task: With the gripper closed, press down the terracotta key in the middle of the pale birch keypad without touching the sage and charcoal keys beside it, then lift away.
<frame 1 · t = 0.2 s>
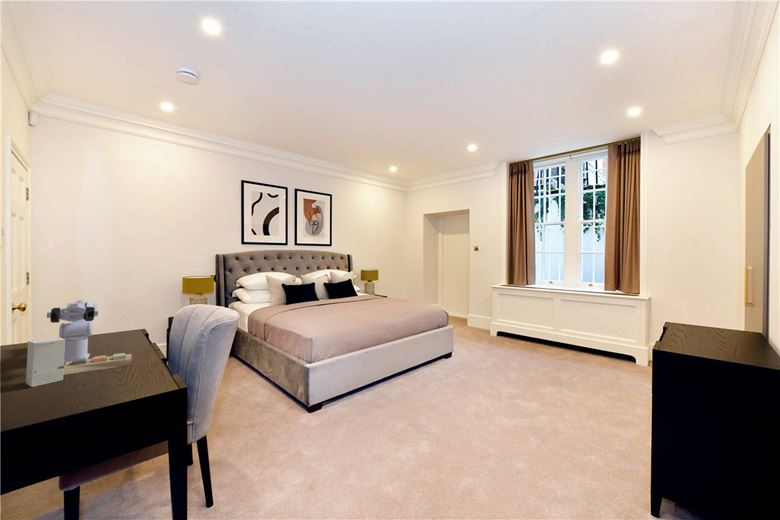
hand: (70, 317, 123), 21 cm above the table, tool horizontal, fingers open, 7 cm apart
key terracotta: (99, 359, 131), point 3 cm above the table, slide at 0.0 cm
key sage: (119, 357, 135), point 3 cm above the table, slide at 0.0 cm
keypad: (99, 366, 131), on the table
skincare box: (45, 382, 115), on the table
key charcoal: (78, 362, 127), point 3 cm above the table, slide at 0.0 cm
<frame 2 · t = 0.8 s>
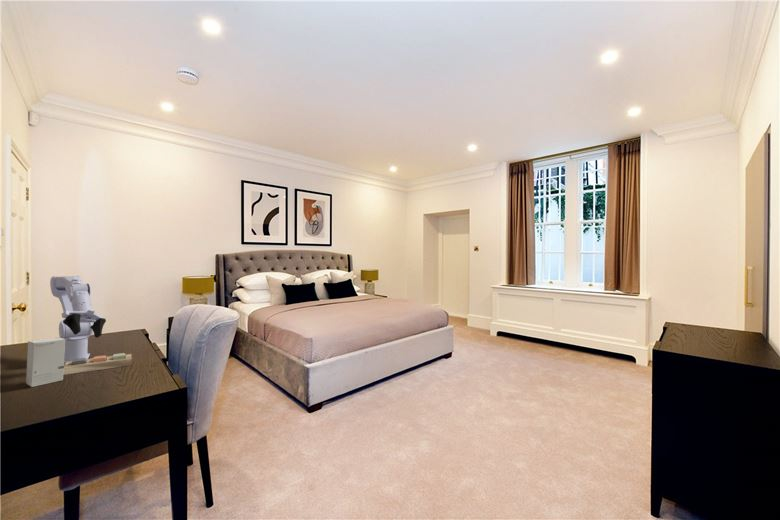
hand: (88, 334, 126), 14 cm above the table, tool tilted 50°, fingers open, 7 cm apart
nothing on the table moved.
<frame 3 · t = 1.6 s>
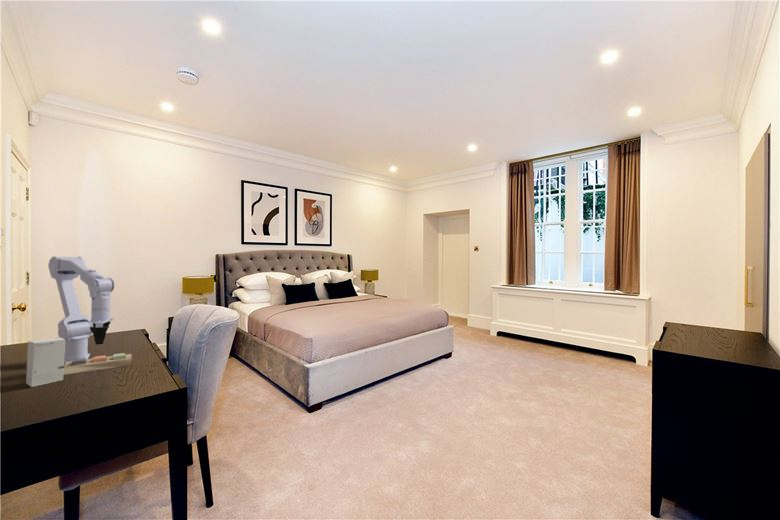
hand: (100, 342, 133), 9 cm above the table, tool pointing down, fingers open, 7 cm apart
nothing on the table moved.
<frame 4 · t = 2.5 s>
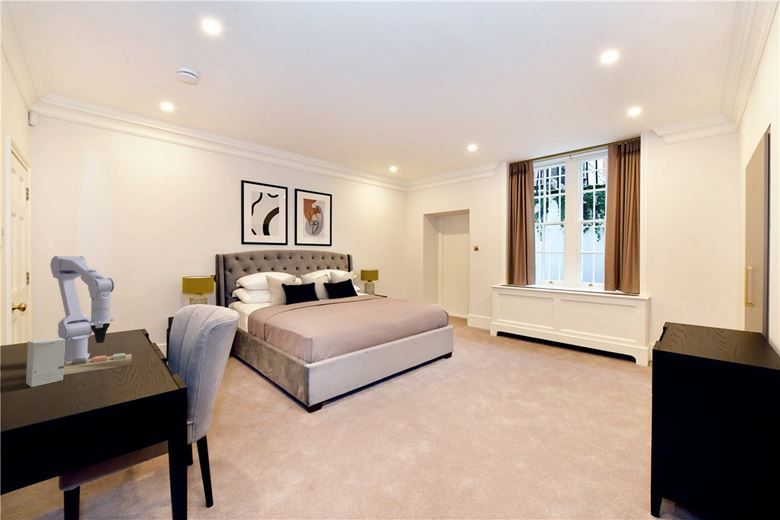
hand: (100, 342, 132), 9 cm above the table, tool pointing down, fingers closed
nothing on the table moved.
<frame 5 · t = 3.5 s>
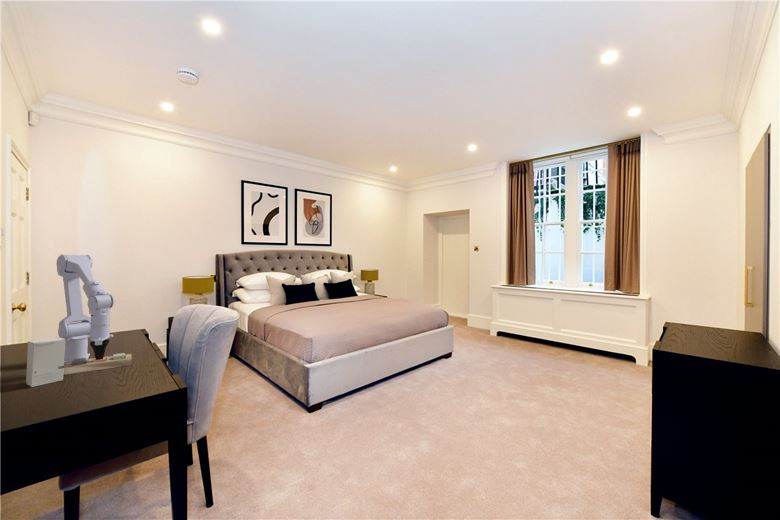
hand: (99, 359, 131), 3 cm above the table, tool pointing down, fingers closed, pressing on key terracotta
key terracotta: (99, 361, 131), point 2 cm above the table, slide at 0.7 cm, touching gripper
everything else where it was.
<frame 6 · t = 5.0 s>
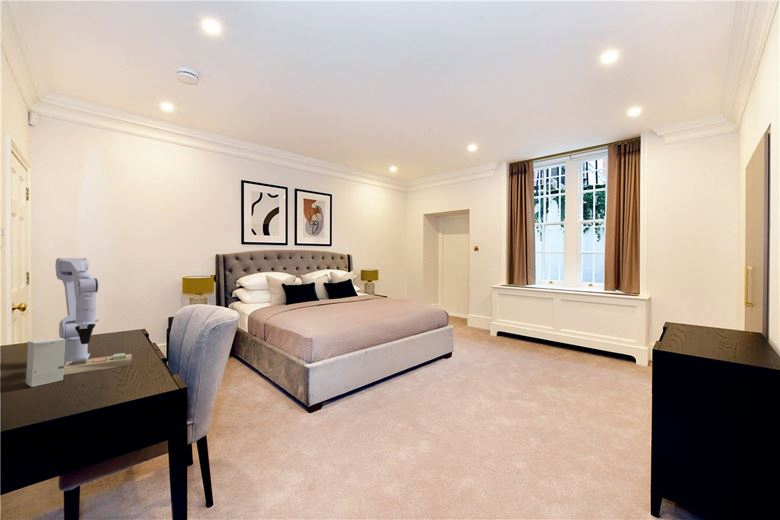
hand: (85, 343, 130), 9 cm above the table, tool pointing down, fingers closed
key terracotta: (99, 362, 131), point 2 cm above the table, slide at 1.0 cm
everything else where it was.
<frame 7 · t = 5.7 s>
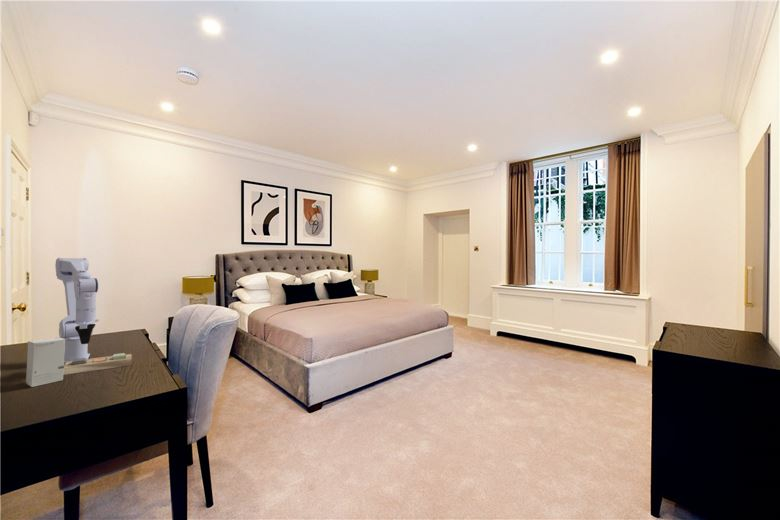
hand: (85, 343, 130), 9 cm above the table, tool pointing down, fingers closed
nothing on the table moved.
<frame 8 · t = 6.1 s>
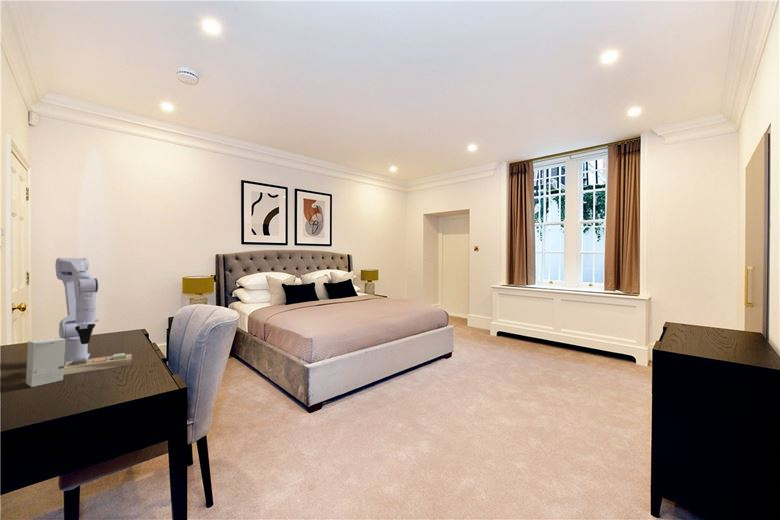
hand: (85, 343, 130), 9 cm above the table, tool pointing down, fingers closed
nothing on the table moved.
at the end: key terracotta slide at 1.0 cm; key sage slide at 0.0 cm; key charcoal slide at 0.0 cm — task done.
